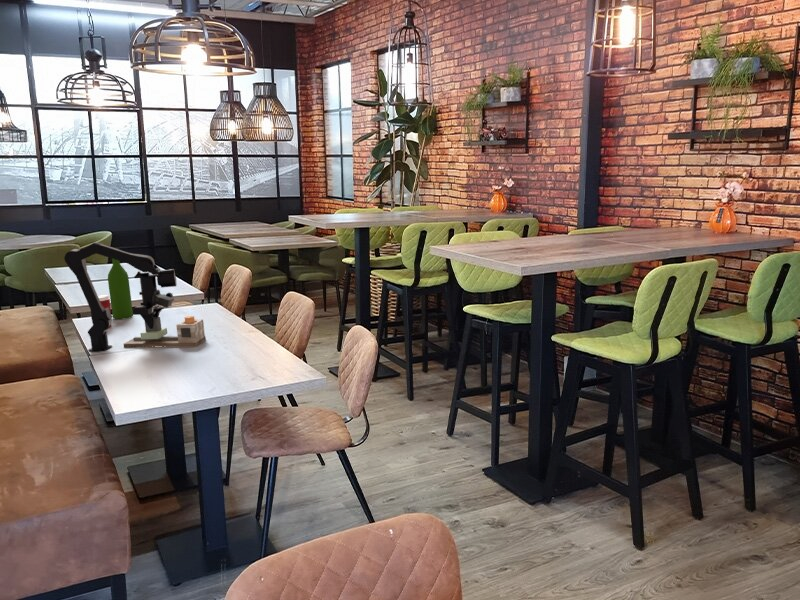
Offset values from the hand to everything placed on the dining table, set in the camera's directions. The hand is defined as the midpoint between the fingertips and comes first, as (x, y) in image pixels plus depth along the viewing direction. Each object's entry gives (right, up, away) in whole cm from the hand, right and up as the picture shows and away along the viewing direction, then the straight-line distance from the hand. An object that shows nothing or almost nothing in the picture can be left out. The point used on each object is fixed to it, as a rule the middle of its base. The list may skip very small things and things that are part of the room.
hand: (153, 327), depth 263 cm
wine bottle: (-33, +3, +52) cm, 62 cm away
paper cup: (-33, -2, +33) cm, 47 cm away
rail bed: (+4, -6, +1) cm, 8 cm away
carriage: (0, -3, +1) cm, 3 cm away
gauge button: (+15, -1, -1) cm, 15 cm away
